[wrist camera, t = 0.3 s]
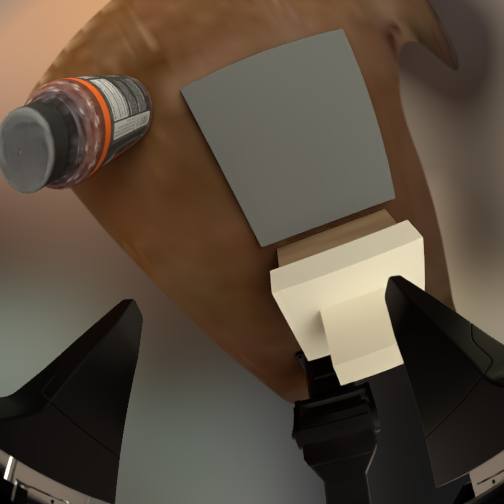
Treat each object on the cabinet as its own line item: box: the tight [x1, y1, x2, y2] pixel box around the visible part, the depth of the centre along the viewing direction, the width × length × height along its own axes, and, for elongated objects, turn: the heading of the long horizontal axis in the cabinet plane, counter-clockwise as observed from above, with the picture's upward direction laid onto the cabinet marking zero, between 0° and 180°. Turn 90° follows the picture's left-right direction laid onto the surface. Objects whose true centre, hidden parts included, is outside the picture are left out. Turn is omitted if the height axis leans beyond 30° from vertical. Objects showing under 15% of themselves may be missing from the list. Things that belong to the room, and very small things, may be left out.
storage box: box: [277, 209, 397, 267], centre depth 23 cm, size 8×10×5 cm
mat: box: [180, 29, 395, 247], centre depth 19 cm, size 14×12×1 cm
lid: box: [270, 220, 425, 385], centre depth 19 cm, size 9×11×8 cm
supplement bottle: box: [0, 75, 153, 193], centre depth 13 cm, size 6×6×11 cm
